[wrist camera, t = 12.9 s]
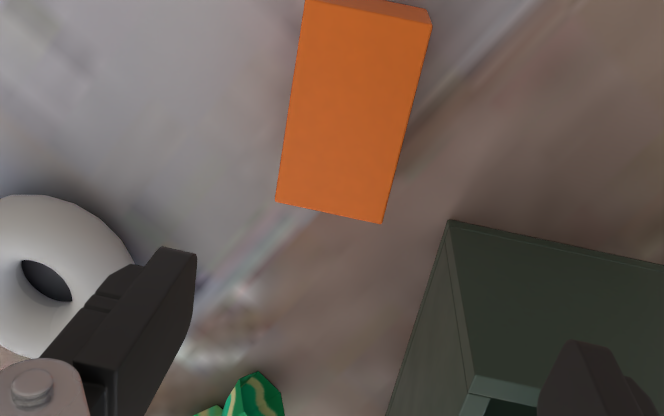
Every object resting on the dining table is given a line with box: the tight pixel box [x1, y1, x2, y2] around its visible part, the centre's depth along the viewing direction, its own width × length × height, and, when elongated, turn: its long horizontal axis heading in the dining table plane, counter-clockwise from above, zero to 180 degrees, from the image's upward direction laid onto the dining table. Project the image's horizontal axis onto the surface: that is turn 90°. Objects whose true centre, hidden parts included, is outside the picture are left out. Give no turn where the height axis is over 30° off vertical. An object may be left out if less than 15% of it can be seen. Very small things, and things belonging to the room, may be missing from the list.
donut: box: [0, 195, 135, 359], centre depth 29 cm, size 10×4×10 cm
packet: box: [275, 0, 433, 224], centre depth 23 cm, size 4×8×4 cm, turn 170°
